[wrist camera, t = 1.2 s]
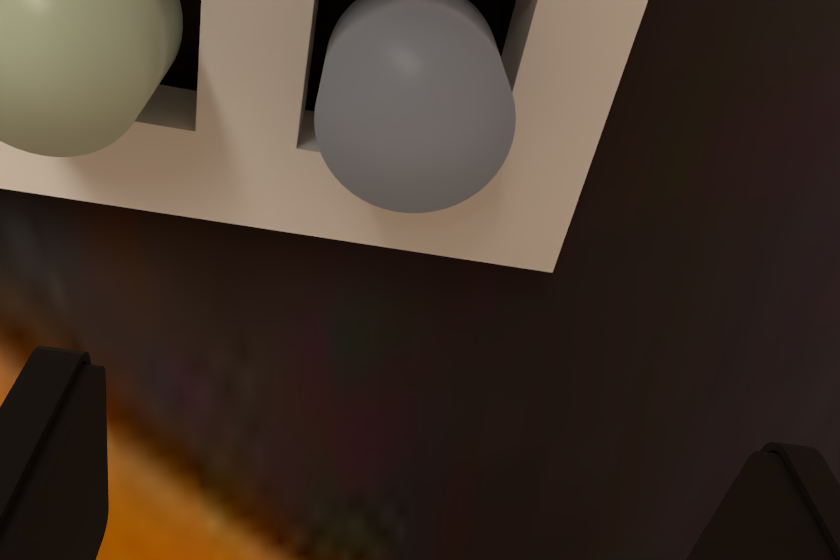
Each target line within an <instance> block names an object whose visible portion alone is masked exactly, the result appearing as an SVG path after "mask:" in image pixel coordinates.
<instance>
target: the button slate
mask: <svg viewBox="0 0 840 560" xmlns="http://www.w3.org/2000/svg"><path fill="white" fill-rule="evenodd" d="M515 124H516V112H515V103H514V98H513V94H512V91H511V88H510V85H509V82H508V78H507V75H506V72H505V69H504V66H503V63H502V60H501V57H500V54H499V51H498V48H497V45H496V42H495V39H494V36H493V34H492V31H491V29H490V27H489V25H488V23H487V21H486V20H485V18H484V17H483V16H482V14H481V13H480V11H479V10H478V9H477V8H476V7H475V6H474V5H473V4H472V3H471V2H470V1H469V0H356V1H354V2H353V3H352V4H351V5H350V6H349V7H348V8H347V9H346V10H345V12H344V13H343V14H342V16H341V17H340V18H339V20H338V21H337V23H336V25H335V27H334V29H333V31H332V33H331V36H330V39H329V42H328V46H327V51H326V56H325V61H324V66H323V71H322V76H321V81H320V85H319V90H318V95H317V100H316V105H315V114H314V126H315V135H316V139H317V144H318V147H319V150H320V152H321V155H322V157H323V159H324V161H325V163H326V165H327V167H328V168H329V170H330V171H331V172H332V174H333V175H334V177H335V178H336V179H337V180H338V181H339V182H340V183H341V184H342V185H343V186H344V187H345V188H346V189H348V190H349V191H350V192H351V193H352V194H354V195H355V196H357V197H359V198H360V199H362V200H363V201H366V202H368V203H370V204H372V205H374V206H377V207H380V208H383V209H386V210H390V211H395V212H402V213H427V212H434V211H438V210H442V209H446V208H449V207H451V206H454V205H457V204H459V203H461V202H463V201H465V200H467V199H469V198H470V197H472V196H473V195H475V194H476V193H478V192H479V191H480V190H481V189H482V188H483V187H485V186H486V185H487V184H488V183H489V182H490V181H491V180H492V179H493V177H494V176H495V175H496V174H497V172H498V171H499V170H500V168H501V167H502V165H503V163H504V162H505V160H506V158H507V156H508V154H509V151H510V148H511V145H512V143H513V138H514V133H515Z"/></svg>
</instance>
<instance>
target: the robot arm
mask: <svg viewBox="0 0 840 560" xmlns="http://www.w3.org/2000/svg"><path fill="white" fill-rule="evenodd" d="M108 508H109V507H108V463H107V420H106V377H105V369H104V367H103V366H97V365H91V360H90V356H89V353H87V352H83V351H75V350H68V349H60V348H52V347H45V346H38V347H37V348H35V350H34V351H33V352H32V354H31V355H30V357H29V359H28V361H27V362H26V364H25V366H24V367H23V369H22V371H21V373H20V374H19V376H18V378H17V379H16V381H15V383H14V385H13V386H12V388H11V390H10V391H9V393H8V395H7V397H6V398H5V400H4V402H3V404H2V405H1V407H0V560H95V559H96V557H97V554H98V551H99V548H100V545H101V543H102V540H103V537H104V533H105V529H106V525H107V519H108ZM686 560H840V485H839V483H838V482H837V480H836V478H835V477H834V475H833V473H832V471H831V470H830V468H829V466H828V465H827V463H826V461H825V460H824V458H823V456H822V455H821V454H820V453H819V452H818V451H817V450H816V449H814V448H812V447H806V446H798V445H790V444H783V443H773V442H770V443H768V444H766V445H765V446H764V447H763V448H762V449H761V450H760V451H756V452H754V453H752V454H751V455H750V456H749V458H748V459H747V461H746V463H745V464H744V466H743V468H742V469H741V471H740V472H739V474H738V476H737V477H736V479H735V481H734V482H733V484H732V486H731V487H730V489H729V490H728V492H727V494H726V495H725V497H724V499H723V500H722V502H721V503H720V505H719V507H718V508H717V510H716V512H715V513H714V515H713V516H712V518H711V520H710V521H709V523H708V525H707V526H706V528H705V530H704V531H703V533H702V534H701V536H700V538H699V539H698V541H697V543H696V544H695V546H694V547H693V549H692V551H691V552H690V554H689V556H688V557H687V559H686Z"/></svg>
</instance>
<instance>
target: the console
mask: <svg viewBox="0 0 840 560" xmlns="http://www.w3.org/2000/svg"><path fill="white" fill-rule="evenodd" d="M647 2H648V0H516V2H515V6H514V9H513V13H512V17H511V21H510V25H509V29H508V33H507V36H506V40H505V44H504V48H503V52H502V56H501V60H502V63H503V66H504V69H505V72H506V75H507V78H508V82H509V85H510V88H511V91H512V94H513V98H514V103H515V112H516V124H515V133H514V138H513V143H512V145H511V148H510V151H509V154H508V156H507V158H506V160H505V162H504V163H503V165H502V167H501V168H500V170H499V171H498V172H497V174H496V175H495V176H494V177H493V179H492V180H491V181H490V182H489V183H488V184H487V185H486V186H485V187H483V188H482V189H481V190H480V191H479V192H478V193H476V194H475V195H473V196H472V197H470V198H469V199H467V200H465V201H463V202H461V203H459V204H457V205H454V206H451V207H449V208H446V209H442V210H438V211H434V212H427V213H402V212H395V211H390V210H386V209H383V208H380V207H377V206H374V205H372V204H370V203H368V202H366V201H363V200H362V199H360V198H359V197H357V196H355V195H354V194H352V193H351V192H350V191H349V190H348V189H346V188H345V187H344V186H343V185H342V184H341V183H340V182H339V181H338V180H337V179H336V178H335V177H334V175H333V174H332V172H331V171H330V170H329V168H328V167H327V165H326V163H325V161H324V159H323V157H322V155H321V152H320V150H319V147H318V144H317V139H316V135H315V126H314V114H315V111H310V110H305V106H306V99H307V91H308V83H309V75H310V67H311V59H312V51H313V43H314V35H315V27H316V19H317V11H318V3H319V0H201V18H200V41H199V63H198V85H197V91H194V90H189V89H183V88H177V87H171V86H166V85H160V84H159V85H158V87H157V88H156V90H155V91H154V93H153V94H152V96H151V97H150V99H149V100H148V102H147V103H146V105H145V106H144V108H143V109H142V111H141V112H140V114H139V115H138V117H137V118H136V120H135V121H134V123H133V125H132V126H131V127H130V128H129V129H128V130H127V132H126V133H125V134H124V135H123V136H121V137H120V138H119V139H118V140H117V141H115V142H114V143H112V144H110V145H109V146H107V147H105V148H103V149H101V150H98V151H96V152H93V153H89V154H86V155H81V156H74V157H51V156H42V155H38V154H33V153H29V152H26V151H23V150H20V149H17V148H14V147H12V146H10V145H7V144H5V143H3V142H1V141H0V188H1V189H8V190H14V191H21V192H27V193H34V194H40V195H47V196H53V197H60V198H66V199H73V200H80V201H86V202H93V203H99V204H106V205H112V206H119V207H125V208H132V209H138V210H145V211H151V212H158V213H165V214H171V215H178V216H184V217H191V218H197V219H204V220H210V221H217V222H223V223H230V224H237V225H243V226H250V227H256V228H263V229H269V230H276V231H282V232H289V233H295V234H302V235H308V236H315V237H322V238H328V239H335V240H341V241H348V242H354V243H361V244H367V245H374V246H380V247H387V248H393V249H400V250H407V251H413V252H420V253H426V254H433V255H439V256H446V257H452V258H459V259H465V260H472V261H478V262H485V263H492V264H498V265H505V266H511V267H518V268H524V269H531V270H537V271H544V272H550V273H553V270H554V267H555V264H556V261H557V259H558V256H559V253H560V250H561V247H562V244H563V241H564V239H565V236H566V233H567V230H568V227H569V224H570V222H571V219H572V216H573V213H574V210H575V207H576V204H577V202H578V199H579V196H580V193H581V190H582V187H583V184H584V182H585V179H586V176H587V173H588V170H589V167H590V165H591V162H592V159H593V156H594V153H595V150H596V147H597V145H598V142H599V139H600V136H601V133H602V130H603V127H604V125H605V122H606V119H607V116H608V113H609V110H610V108H611V105H612V102H613V99H614V96H615V93H616V90H617V88H618V85H619V82H620V79H621V76H622V73H623V70H624V68H625V65H626V62H627V59H628V56H629V53H630V51H631V48H632V45H633V42H634V39H635V36H636V33H637V31H638V28H639V25H640V22H641V19H642V16H643V13H644V11H645V8H646V5H647Z"/></svg>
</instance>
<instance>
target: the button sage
mask: <svg viewBox="0 0 840 560" xmlns="http://www.w3.org/2000/svg"><path fill="white" fill-rule="evenodd" d="M182 32H183V15H182V9H181V3H180V0H0V141H1V142H3V143H5V144H7V145H10V146H12V147H14V148H17V149H20V150H23V151H26V152H29V153H33V154H38V155H42V156H51V157H74V156H81V155H86V154H89V153H93V152H96V151H98V150H101V149H103V148H105V147H107V146H109V145H110V144H112V143H114V142H115V141H117V140H118V139H119V138H120V137H121V136H123V135H124V134H125V133H126V132H127V130H128V129H129V128H130V127H131V126H132V125H133V123H134V121H135V120H136V118H137V117H138V115H139V114H140V112H141V111H142V109H143V108H144V106H145V105H146V103H147V102H148V100H149V99H150V97H151V96H152V94H153V93H154V91H155V90H156V88H157V87H158V85H159V83H160V82H161V80H162V79H163V77H164V76H165V74H166V73H167V71H168V70H169V68H170V67H171V65H172V63H173V62H174V60H175V58H176V56H177V53H178V51H179V48H180V44H181V40H182Z"/></svg>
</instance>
